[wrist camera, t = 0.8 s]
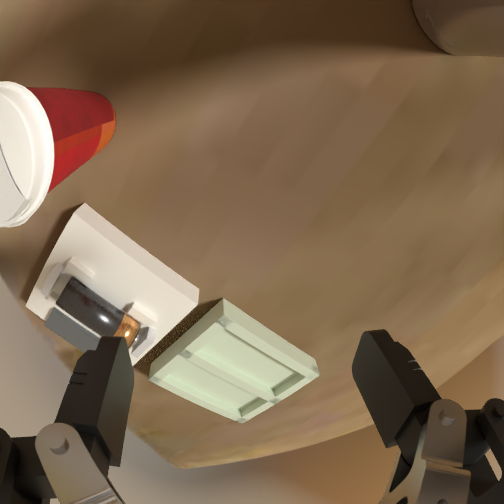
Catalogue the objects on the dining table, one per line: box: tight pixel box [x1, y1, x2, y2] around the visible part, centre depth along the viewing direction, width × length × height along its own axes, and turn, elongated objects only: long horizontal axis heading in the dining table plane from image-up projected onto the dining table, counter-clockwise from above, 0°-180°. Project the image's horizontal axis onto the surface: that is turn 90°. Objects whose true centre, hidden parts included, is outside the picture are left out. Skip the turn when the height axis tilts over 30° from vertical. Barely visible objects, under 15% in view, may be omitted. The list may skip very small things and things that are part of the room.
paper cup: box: [0, 81, 116, 227], centre depth 16 cm, size 8×8×14 cm
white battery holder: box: [26, 203, 199, 366], centre depth 29 cm, size 14×14×4 cm
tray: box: [148, 298, 320, 423], centre depth 36 cm, size 14×15×3 cm
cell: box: [55, 276, 141, 349], centre depth 27 cm, size 3×9×3 cm, turn 47°
